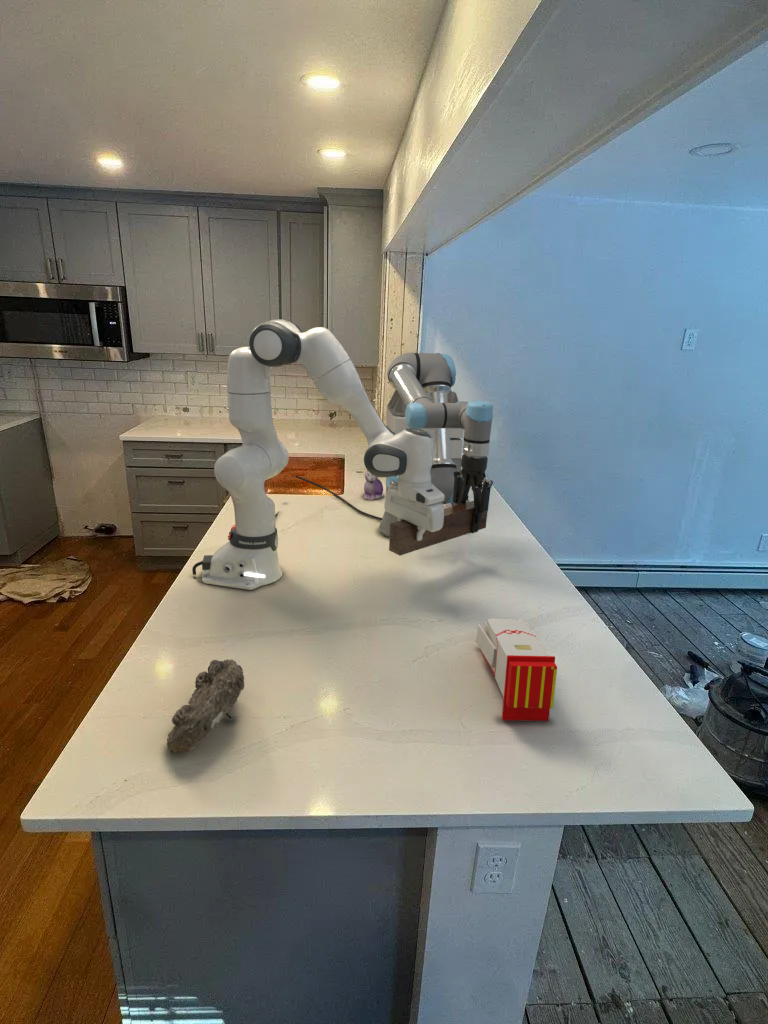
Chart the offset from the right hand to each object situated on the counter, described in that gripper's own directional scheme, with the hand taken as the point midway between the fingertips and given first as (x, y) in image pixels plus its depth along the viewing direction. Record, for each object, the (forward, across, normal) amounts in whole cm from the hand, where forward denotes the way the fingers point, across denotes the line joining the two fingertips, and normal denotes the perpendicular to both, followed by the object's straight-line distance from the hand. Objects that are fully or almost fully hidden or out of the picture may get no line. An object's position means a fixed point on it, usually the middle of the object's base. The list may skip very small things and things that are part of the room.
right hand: (467, 529), depth 173 cm
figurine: (+12, -68, +19) cm, 72 cm away
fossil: (+12, +18, -91) cm, 94 cm away
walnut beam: (0, 0, -12) cm, 12 cm away
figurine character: (+12, -38, +39) cm, 56 cm away
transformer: (+13, -84, +61) cm, 105 cm away
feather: (+12, -71, -25) cm, 76 cm away
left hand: (-3, 0, -24) cm, 24 cm away
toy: (+12, +45, -36) cm, 59 cm away
